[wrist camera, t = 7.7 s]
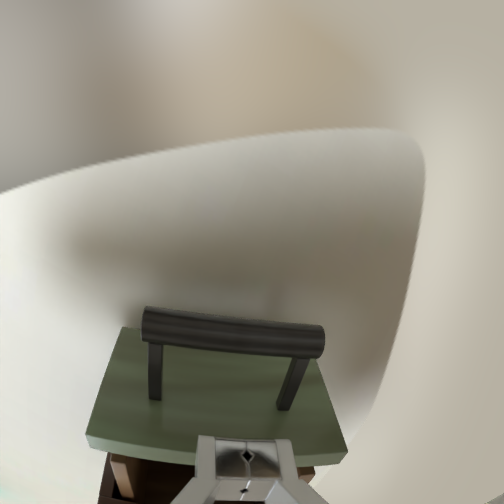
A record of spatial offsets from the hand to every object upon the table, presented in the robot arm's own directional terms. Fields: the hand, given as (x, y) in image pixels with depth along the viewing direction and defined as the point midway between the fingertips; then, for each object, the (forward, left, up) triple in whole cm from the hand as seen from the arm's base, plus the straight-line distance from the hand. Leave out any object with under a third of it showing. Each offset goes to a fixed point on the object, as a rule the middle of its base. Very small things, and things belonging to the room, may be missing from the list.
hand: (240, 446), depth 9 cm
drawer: (0, +7, -9) cm, 11 cm away
